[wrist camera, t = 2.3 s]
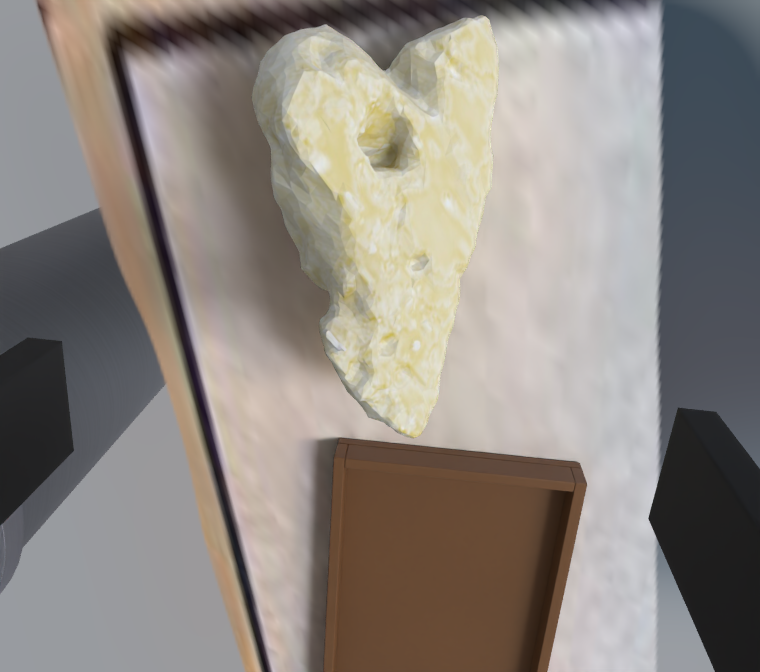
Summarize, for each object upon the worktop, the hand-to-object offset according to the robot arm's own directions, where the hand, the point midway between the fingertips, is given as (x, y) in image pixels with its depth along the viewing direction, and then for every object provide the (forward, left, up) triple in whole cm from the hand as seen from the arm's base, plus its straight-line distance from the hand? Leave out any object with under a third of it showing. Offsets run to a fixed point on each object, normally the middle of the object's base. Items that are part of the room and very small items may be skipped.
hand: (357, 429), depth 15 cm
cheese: (0, +1, -20) cm, 20 cm away
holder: (+4, -23, -20) cm, 30 cm away
